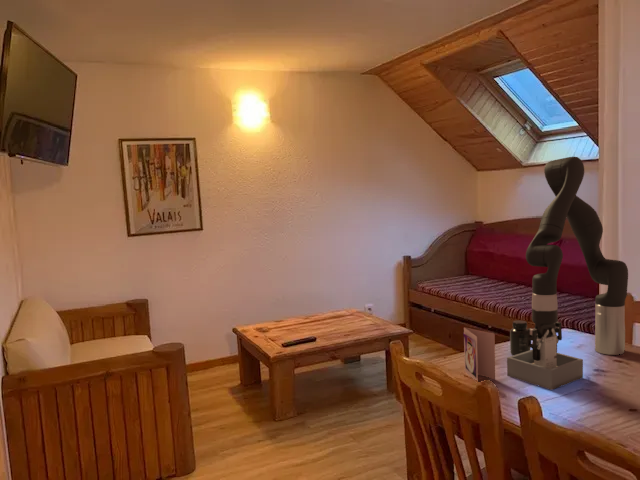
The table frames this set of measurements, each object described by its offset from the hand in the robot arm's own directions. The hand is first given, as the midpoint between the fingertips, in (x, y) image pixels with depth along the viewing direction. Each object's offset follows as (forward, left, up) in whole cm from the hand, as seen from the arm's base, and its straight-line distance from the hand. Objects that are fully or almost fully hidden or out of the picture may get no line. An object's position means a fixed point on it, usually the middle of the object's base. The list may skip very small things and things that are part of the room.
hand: (545, 357), depth 171 cm
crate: (0, 0, -6) cm, 6 cm away
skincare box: (0, 0, -6) cm, 6 cm away
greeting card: (+15, -13, -7) cm, 21 cm away
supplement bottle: (-13, -19, -7) cm, 24 cm away
